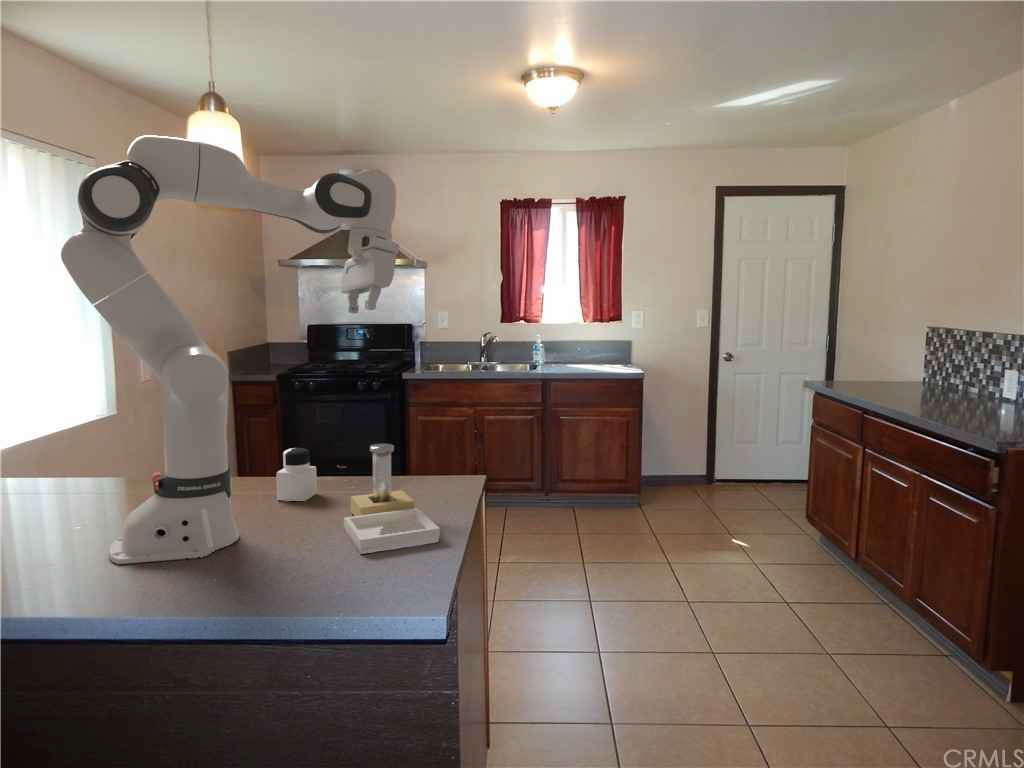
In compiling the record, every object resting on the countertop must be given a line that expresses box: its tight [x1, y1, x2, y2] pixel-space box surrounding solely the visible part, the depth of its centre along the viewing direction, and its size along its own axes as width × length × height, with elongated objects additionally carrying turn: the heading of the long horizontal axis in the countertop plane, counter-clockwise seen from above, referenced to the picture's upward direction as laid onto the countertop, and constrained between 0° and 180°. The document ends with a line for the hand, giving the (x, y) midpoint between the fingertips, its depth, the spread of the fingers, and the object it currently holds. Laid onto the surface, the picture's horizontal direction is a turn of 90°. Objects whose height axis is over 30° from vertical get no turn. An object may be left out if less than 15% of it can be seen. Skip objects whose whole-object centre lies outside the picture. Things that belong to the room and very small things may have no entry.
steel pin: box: [369, 443, 395, 503], centre depth 146 cm, size 5×5×16 cm
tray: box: [343, 507, 441, 551], centre depth 134 cm, size 16×14×3 cm
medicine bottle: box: [276, 447, 318, 502], centre depth 158 cm, size 7×7×12 cm
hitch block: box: [350, 489, 415, 516], centre depth 146 cm, size 12×9×4 cm
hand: (361, 311), depth 139 cm, fingers open, 8 cm apart
